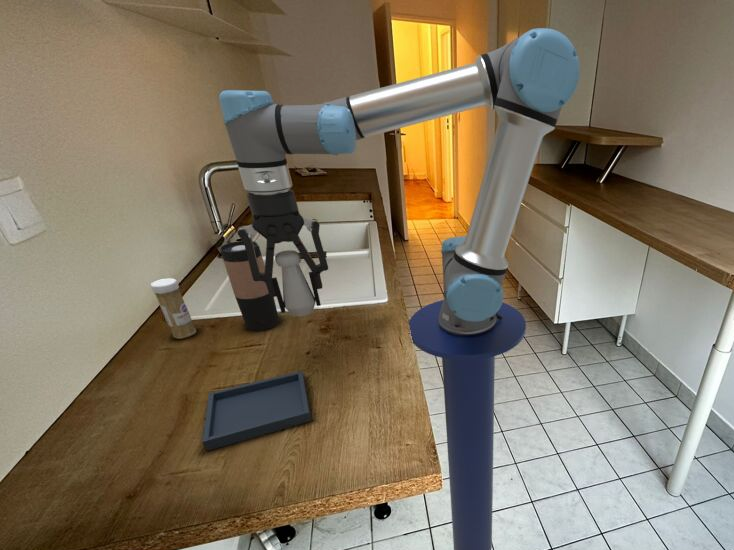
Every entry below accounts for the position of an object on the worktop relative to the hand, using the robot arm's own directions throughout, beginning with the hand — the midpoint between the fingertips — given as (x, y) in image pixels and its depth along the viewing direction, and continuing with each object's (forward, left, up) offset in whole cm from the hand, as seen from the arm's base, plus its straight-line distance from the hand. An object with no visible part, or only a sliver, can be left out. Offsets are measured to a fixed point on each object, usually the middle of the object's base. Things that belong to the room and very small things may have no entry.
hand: (300, 306), depth 84 cm
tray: (+10, +15, -12) cm, 22 cm away
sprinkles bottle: (+25, -22, -12) cm, 36 cm away
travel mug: (+9, -20, -12) cm, 25 cm away
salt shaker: (0, 0, -2) cm, 2 cm away
